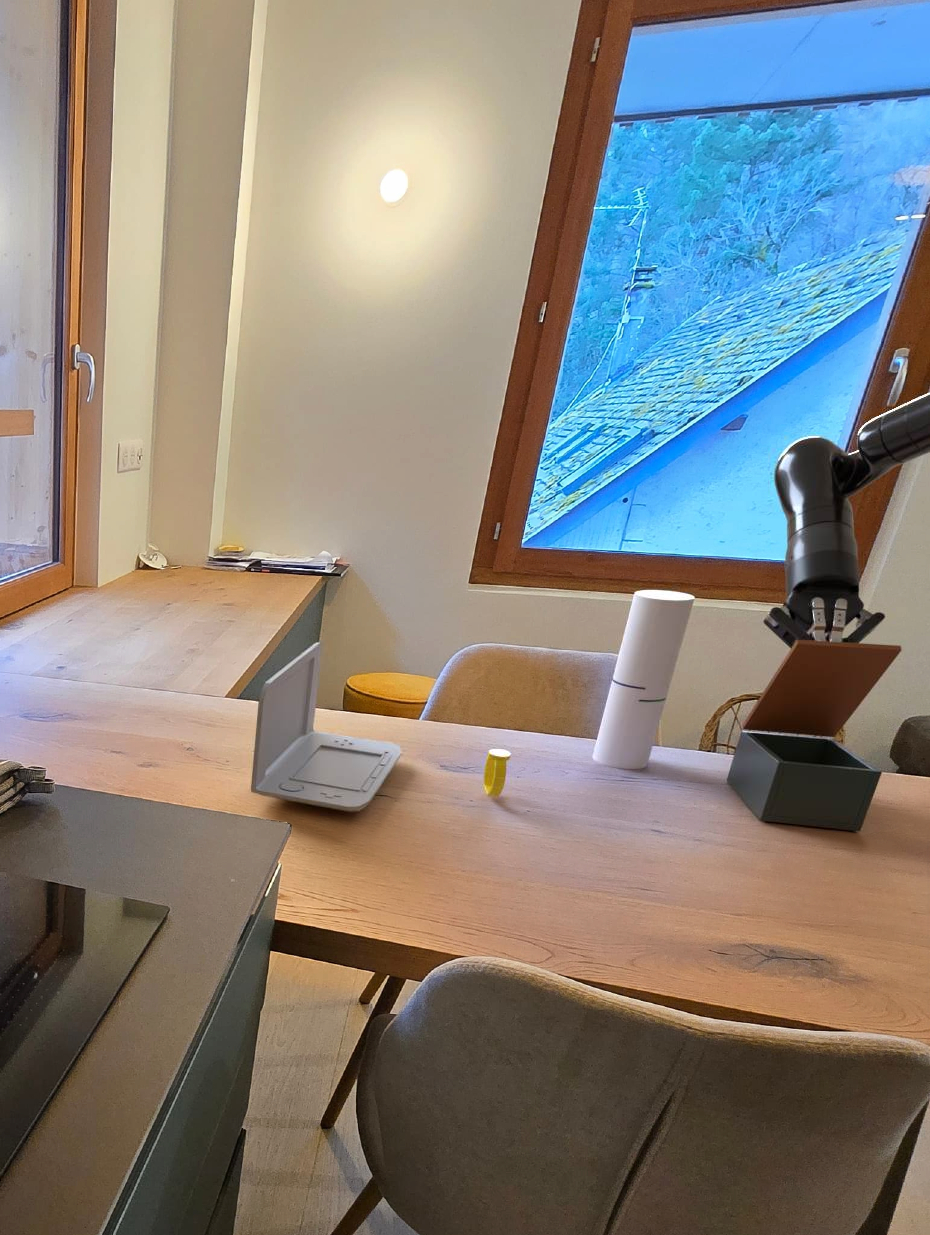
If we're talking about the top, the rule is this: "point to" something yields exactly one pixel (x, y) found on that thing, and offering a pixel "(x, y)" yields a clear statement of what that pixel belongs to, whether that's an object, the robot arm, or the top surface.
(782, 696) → the panel
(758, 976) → the top surface
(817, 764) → the lidded box
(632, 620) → the cylindrical container
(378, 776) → the game console
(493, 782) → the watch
